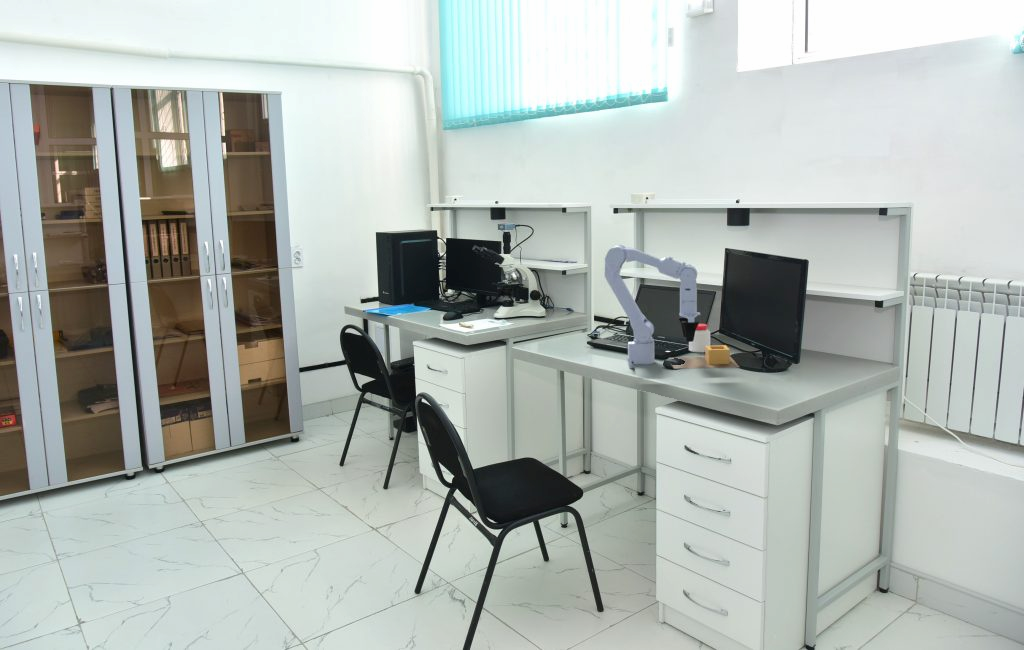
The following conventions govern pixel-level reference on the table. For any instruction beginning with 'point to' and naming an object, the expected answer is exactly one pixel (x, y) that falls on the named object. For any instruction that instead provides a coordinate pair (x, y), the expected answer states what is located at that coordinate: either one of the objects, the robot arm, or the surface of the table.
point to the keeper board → (702, 363)
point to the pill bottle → (700, 339)
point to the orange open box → (717, 354)
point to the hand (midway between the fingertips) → (688, 339)
